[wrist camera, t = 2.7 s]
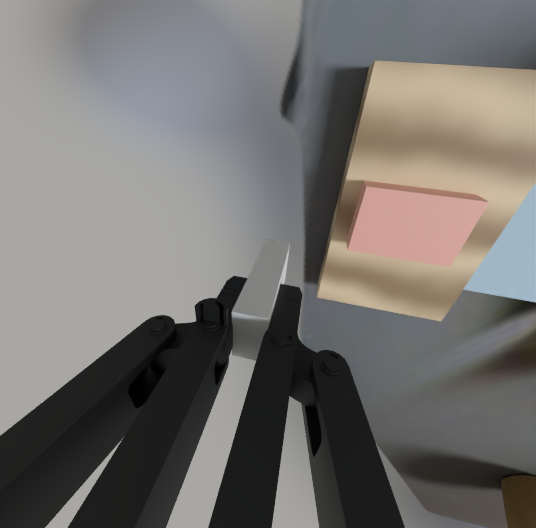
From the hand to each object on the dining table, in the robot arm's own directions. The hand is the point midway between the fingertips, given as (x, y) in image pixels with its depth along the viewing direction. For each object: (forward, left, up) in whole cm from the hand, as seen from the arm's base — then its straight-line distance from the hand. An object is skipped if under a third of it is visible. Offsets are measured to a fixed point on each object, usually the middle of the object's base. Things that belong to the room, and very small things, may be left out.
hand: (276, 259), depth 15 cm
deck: (0, +11, -13) cm, 17 cm away
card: (0, +10, -10) cm, 14 cm away
